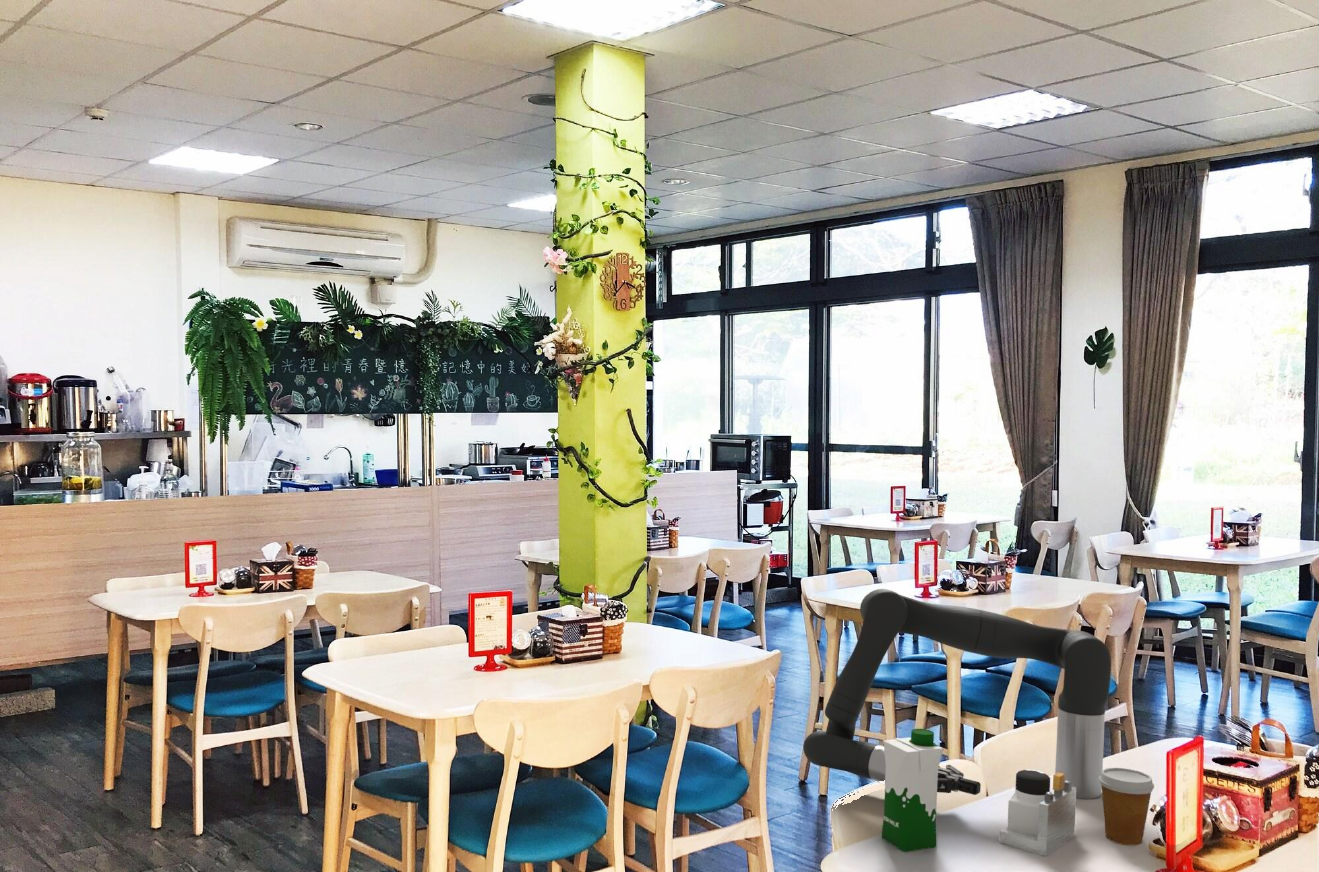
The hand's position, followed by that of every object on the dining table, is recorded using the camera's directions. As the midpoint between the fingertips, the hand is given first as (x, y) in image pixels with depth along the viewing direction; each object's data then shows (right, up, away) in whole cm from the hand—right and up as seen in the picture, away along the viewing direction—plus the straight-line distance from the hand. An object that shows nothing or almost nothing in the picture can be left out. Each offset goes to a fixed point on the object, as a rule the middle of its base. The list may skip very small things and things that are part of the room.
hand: (978, 788), depth 214 cm
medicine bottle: (+8, -7, -6) cm, 12 cm away
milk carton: (-16, -6, -11) cm, 21 cm away
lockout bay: (+8, -7, -7) cm, 13 cm away
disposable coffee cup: (+25, -8, -5) cm, 27 cm away
